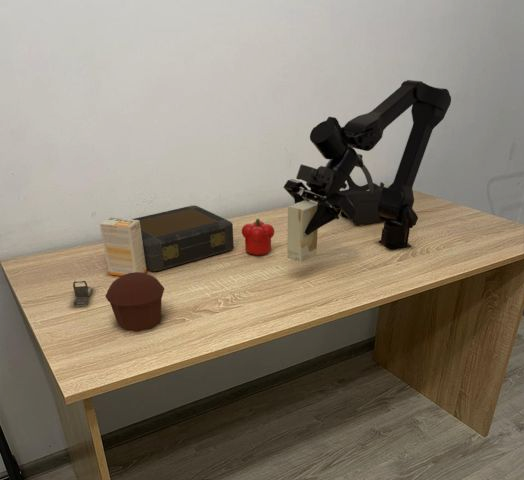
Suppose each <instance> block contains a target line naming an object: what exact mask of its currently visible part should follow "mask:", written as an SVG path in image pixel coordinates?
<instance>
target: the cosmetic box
mask: <svg viewBox="0 0 524 480" xmlns="http://www.w3.org/2000/svg"><path fill="white" fill-rule="evenodd" d="M317 205H318V202H315V201H310V202H309V201H305V200H304V201H301V202H299V203H295V202H294V204H291V205H288V206H287V237H286V238H287V240H286V241H287V242H286V258H287V259H290V260H293V261H297V262H300V263H302V262H304V261H307V260H309V259H310V258H312V257H314V256H316V255H317V254H318V253H317V251H318V231H319V228H318V229H317V230H315V231H314V232H312V233H310V234H309V235H306V234H305V230H306V228H307V226H308V224H309V223H310V221H311V219H312V218H313V216H314V214H315V213H316V211H317Z"/></svg>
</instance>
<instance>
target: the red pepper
mask: <svg viewBox="0 0 524 480" xmlns="http://www.w3.org/2000/svg"><path fill="white" fill-rule="evenodd" d="M241 236H243V238H244V247H245V248H244V249H245V251H246V252H247V253H248V254H249V255H252V256H255V257H256V256H264V255H267V254H268V253H269V252H271V251H272V238H273V237H274V236H275V229H274V226H273V225H271V223H265V222H264V221H262V220H260V218H256V219H255V221H254V222H253V223H246V224H244V225H243V226H242V228H241Z"/></svg>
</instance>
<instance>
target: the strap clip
mask: <svg viewBox="0 0 524 480" xmlns="http://www.w3.org/2000/svg"><path fill="white" fill-rule="evenodd" d="M81 283H83V284H84V285H80V286H76V284H81ZM72 288H73V292H74V296H75V299H74V300H73V307H86V306H87V305H89V297H90V296H91V294H92V287H91V286H88V283H87V280H76V281H75V280H74V281H73V283H72Z"/></svg>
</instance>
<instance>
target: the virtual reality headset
mask: <svg viewBox="0 0 524 480" xmlns="http://www.w3.org/2000/svg"><path fill="white" fill-rule="evenodd" d="M360 169H361V171H362V173H363V174H364V177H365V180H366V184H363V185H358V184H356V182H355V181H354V180H353V178H352V176H351V174H350V175H349V177H348V178H347V180H346V181H345V182H346V184H347V187H348V189H343V190H340V191H339V192H338V194H341V195H344V196H347V197H348V199H349V200H350V201H351V202H352V204H353V205H354V206H355V207H356V214H355V215H354V217H353V218H352V220H351V221H352V222H353V223H354V224H355V225H356V226H368V225H377V224H384V221H380V219H379V212H378V200H379V198H380V196H381V192H382V189H383V188H384V187H385V183H383V182H382V181H381V182H380V183H379V185H378V184H377V183H375V182H374V181H373V178H372V174H371V173H370V171H369V169H368V167H366V165H365V164H364V163H363V168H360Z"/></svg>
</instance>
